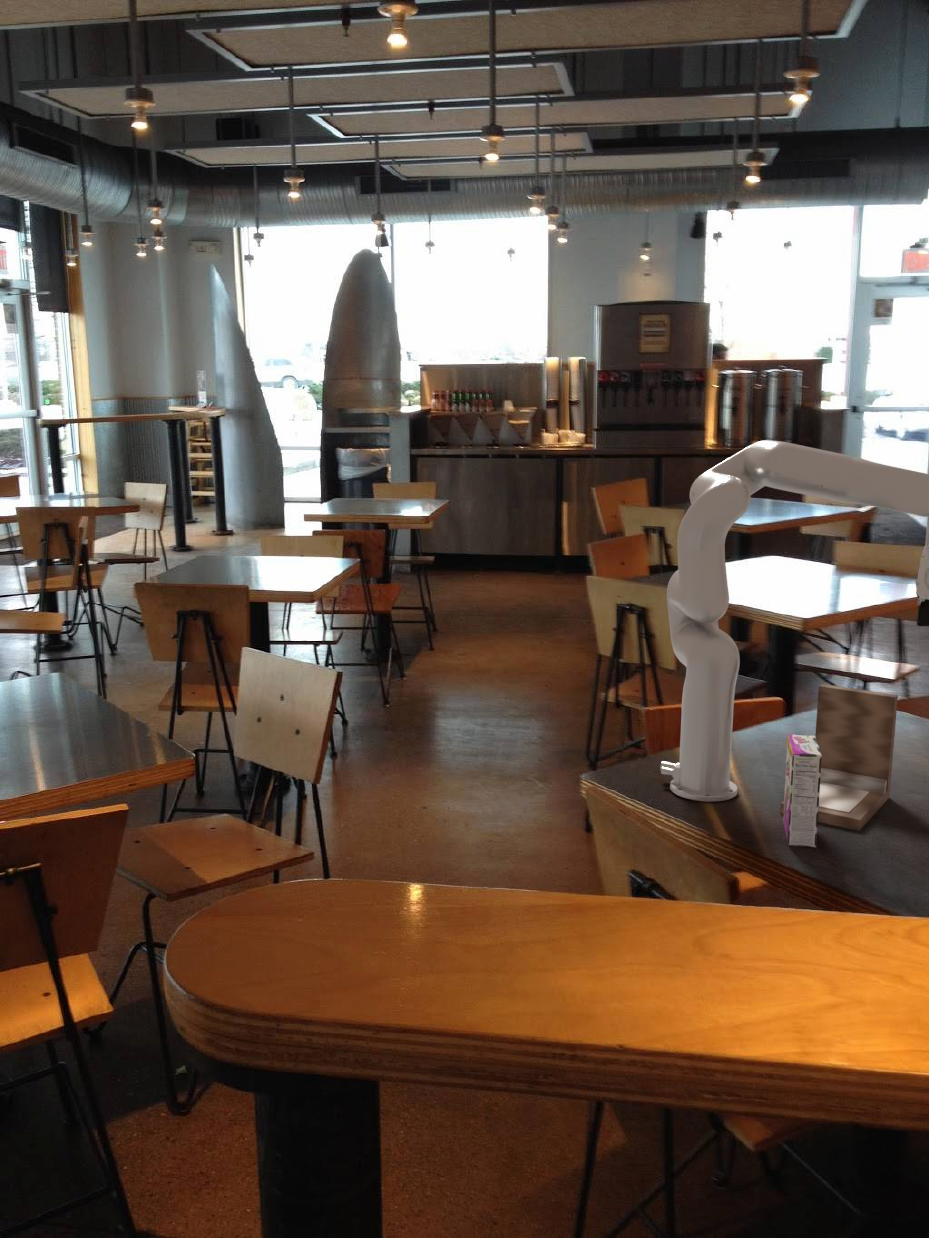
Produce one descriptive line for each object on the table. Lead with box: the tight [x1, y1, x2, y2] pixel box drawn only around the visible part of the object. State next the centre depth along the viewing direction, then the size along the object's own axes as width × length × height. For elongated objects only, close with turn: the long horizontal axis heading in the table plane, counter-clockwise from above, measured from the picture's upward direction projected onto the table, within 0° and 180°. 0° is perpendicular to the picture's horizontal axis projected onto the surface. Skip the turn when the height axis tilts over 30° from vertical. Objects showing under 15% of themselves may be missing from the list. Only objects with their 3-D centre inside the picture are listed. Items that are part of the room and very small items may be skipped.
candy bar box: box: [782, 733, 822, 849], centre depth 189 cm, size 11×5×16 cm, turn 168°
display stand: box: [779, 683, 899, 832], centre depth 202 cm, size 14×20×20 cm
